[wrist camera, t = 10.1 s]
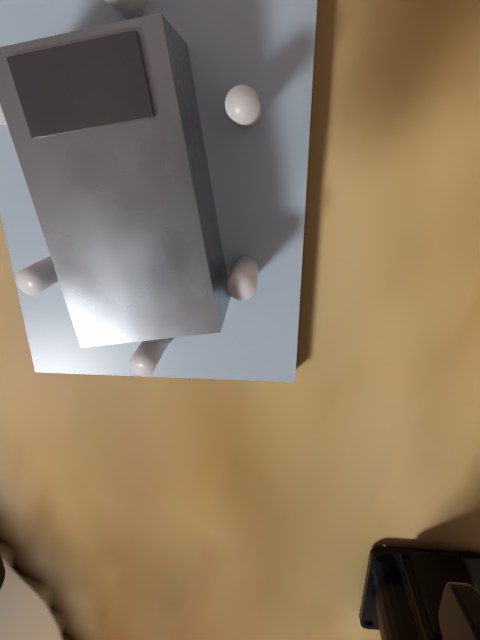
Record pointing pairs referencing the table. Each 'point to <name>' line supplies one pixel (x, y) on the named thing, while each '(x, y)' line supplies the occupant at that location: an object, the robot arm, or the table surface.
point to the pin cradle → (226, 180)
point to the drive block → (119, 178)
